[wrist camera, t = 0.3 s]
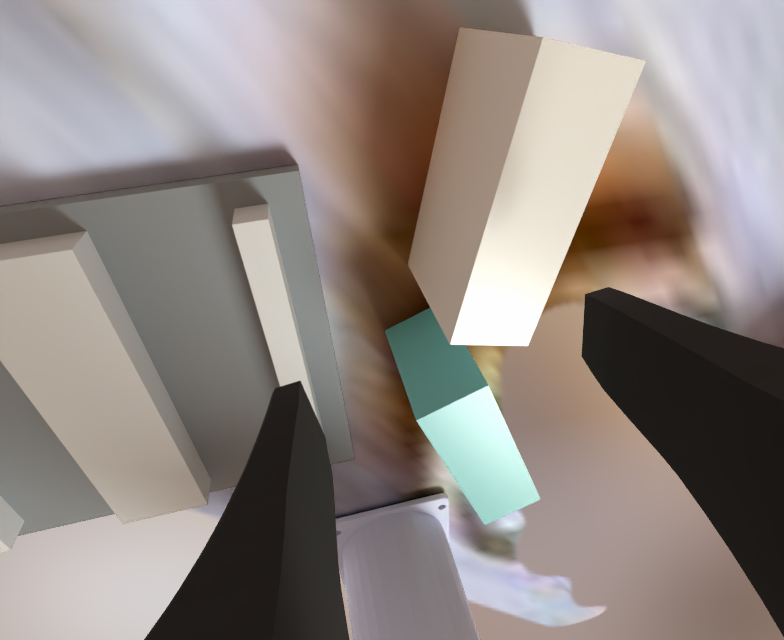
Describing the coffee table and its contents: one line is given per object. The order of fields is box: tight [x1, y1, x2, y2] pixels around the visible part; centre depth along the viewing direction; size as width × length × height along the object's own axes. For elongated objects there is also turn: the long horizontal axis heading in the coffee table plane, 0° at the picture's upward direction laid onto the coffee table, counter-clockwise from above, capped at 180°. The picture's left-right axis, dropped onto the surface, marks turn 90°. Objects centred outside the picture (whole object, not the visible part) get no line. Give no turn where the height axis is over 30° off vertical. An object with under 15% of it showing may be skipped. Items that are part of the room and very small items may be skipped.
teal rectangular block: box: [385, 308, 540, 525], centre depth 22 cm, size 9×3×6 cm, turn 25°
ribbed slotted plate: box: [0, 164, 355, 552], centre depth 19 cm, size 16×19×2 cm
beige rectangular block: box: [408, 27, 646, 346], centre depth 16 cm, size 9×3×6 cm, turn 169°
